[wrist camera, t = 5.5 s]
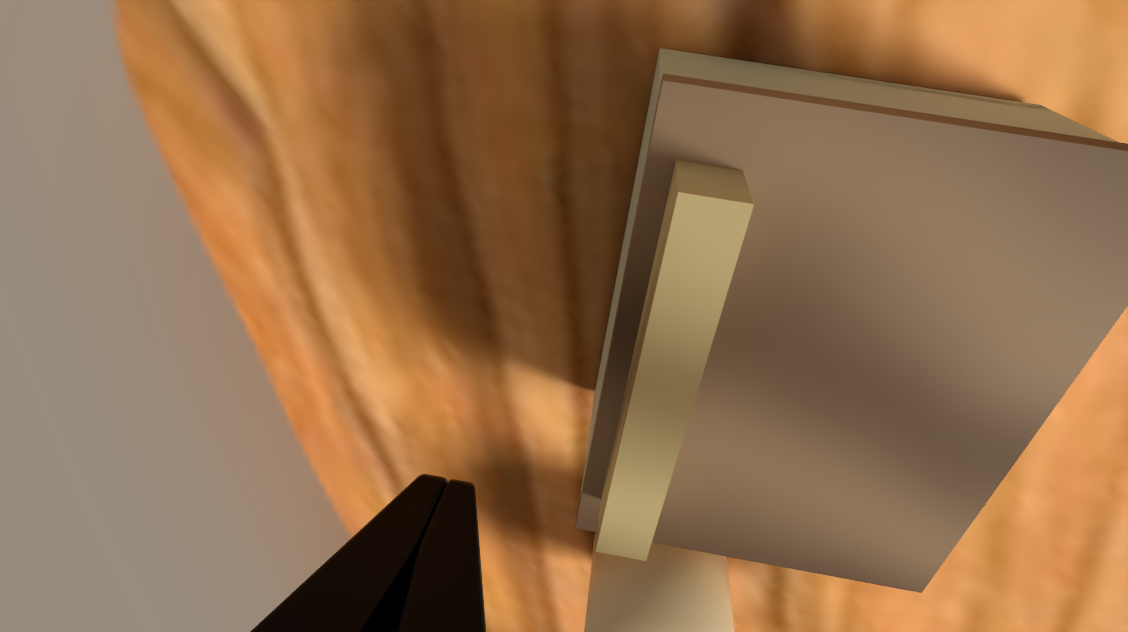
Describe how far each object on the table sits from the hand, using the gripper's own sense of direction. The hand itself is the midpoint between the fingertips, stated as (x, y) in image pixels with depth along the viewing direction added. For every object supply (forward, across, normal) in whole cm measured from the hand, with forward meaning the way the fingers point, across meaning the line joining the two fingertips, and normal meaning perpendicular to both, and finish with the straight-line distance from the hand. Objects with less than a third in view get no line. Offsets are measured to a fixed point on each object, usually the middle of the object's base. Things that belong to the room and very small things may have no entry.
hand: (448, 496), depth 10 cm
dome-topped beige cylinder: (+10, -6, +12) cm, 17 cm away
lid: (+5, -7, 0) cm, 9 cm away
